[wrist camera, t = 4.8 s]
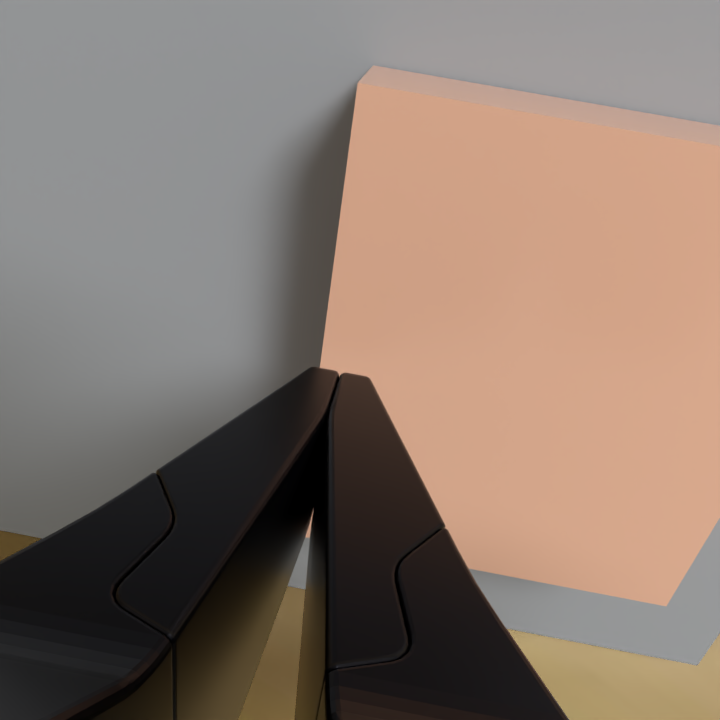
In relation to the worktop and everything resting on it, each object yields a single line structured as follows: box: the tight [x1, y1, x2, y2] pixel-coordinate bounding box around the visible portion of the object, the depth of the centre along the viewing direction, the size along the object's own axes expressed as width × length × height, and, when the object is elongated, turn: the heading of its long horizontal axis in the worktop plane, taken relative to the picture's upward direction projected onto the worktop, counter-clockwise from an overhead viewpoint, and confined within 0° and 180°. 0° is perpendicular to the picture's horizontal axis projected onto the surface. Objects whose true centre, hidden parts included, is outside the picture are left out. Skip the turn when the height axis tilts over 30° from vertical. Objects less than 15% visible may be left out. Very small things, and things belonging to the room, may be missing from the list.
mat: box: [0, 0, 720, 665], centre depth 12 cm, size 18×16×1 cm
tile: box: [306, 65, 720, 606], centre depth 11 cm, size 2×8×7 cm
